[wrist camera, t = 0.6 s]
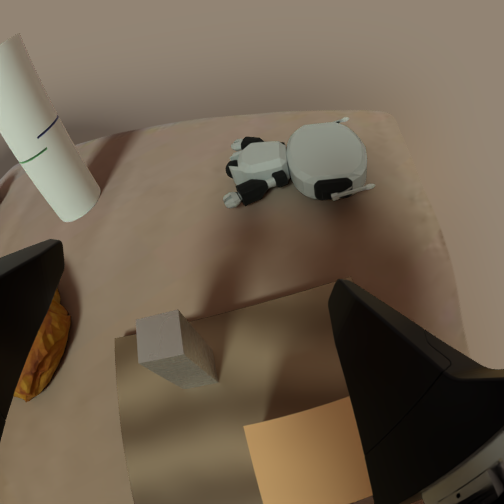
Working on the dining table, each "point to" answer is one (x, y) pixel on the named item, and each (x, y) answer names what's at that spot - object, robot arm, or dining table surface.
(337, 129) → the robot toy
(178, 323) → the post
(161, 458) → the base board
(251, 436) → the orange rectangular block
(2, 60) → the cylindrical container
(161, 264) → the dining table surface
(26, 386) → the croissant
